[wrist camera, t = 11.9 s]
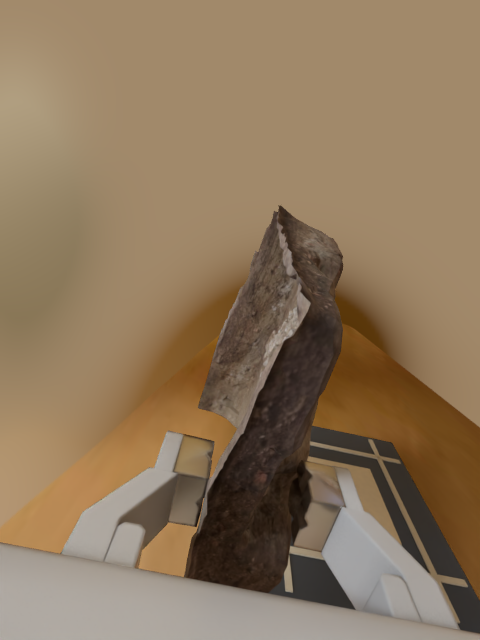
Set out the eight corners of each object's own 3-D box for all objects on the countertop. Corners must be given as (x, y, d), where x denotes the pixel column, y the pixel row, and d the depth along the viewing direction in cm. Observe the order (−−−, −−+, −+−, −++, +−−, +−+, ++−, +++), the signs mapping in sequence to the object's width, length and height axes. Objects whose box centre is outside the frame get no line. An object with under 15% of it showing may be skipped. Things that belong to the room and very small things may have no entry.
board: (240, 606, 24) (246, 590, 23) (245, 422, 42) (248, 410, 42) (490, 652, 25) (502, 637, 24) (387, 452, 43) (392, 441, 43)
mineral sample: (197, 402, 27) (261, 202, 22) (248, 417, 27) (323, 222, 22) (115, 706, 11) (280, 227, 6) (239, 734, 11) (500, 299, 6)
